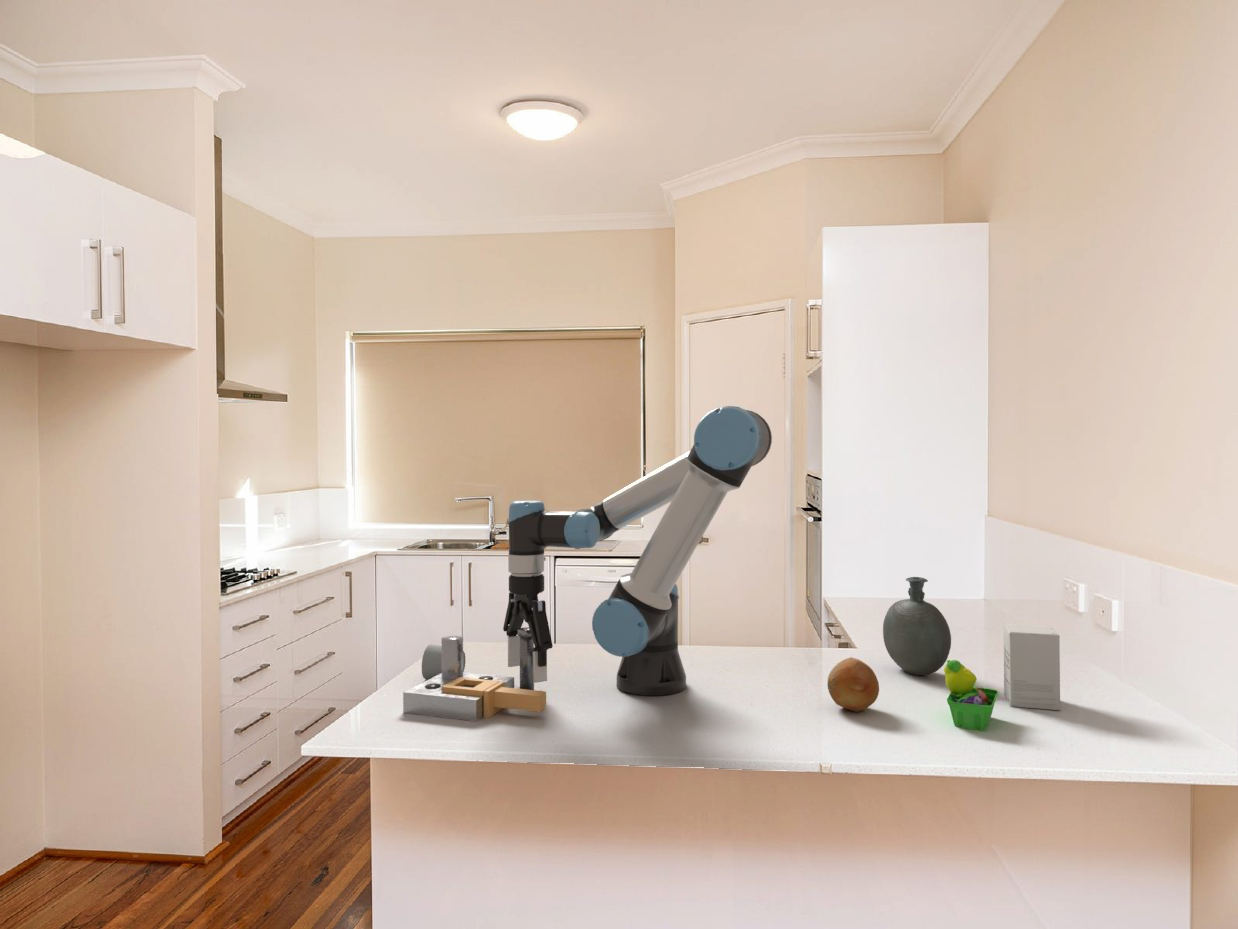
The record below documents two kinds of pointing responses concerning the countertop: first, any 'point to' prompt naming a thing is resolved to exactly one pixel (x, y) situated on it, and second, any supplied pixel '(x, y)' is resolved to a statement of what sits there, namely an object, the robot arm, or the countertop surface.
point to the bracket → (498, 695)
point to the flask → (916, 632)
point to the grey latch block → (444, 704)
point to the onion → (853, 685)
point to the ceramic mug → (433, 661)
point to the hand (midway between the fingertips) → (526, 673)
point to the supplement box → (1032, 666)
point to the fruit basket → (968, 698)
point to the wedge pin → (526, 659)
